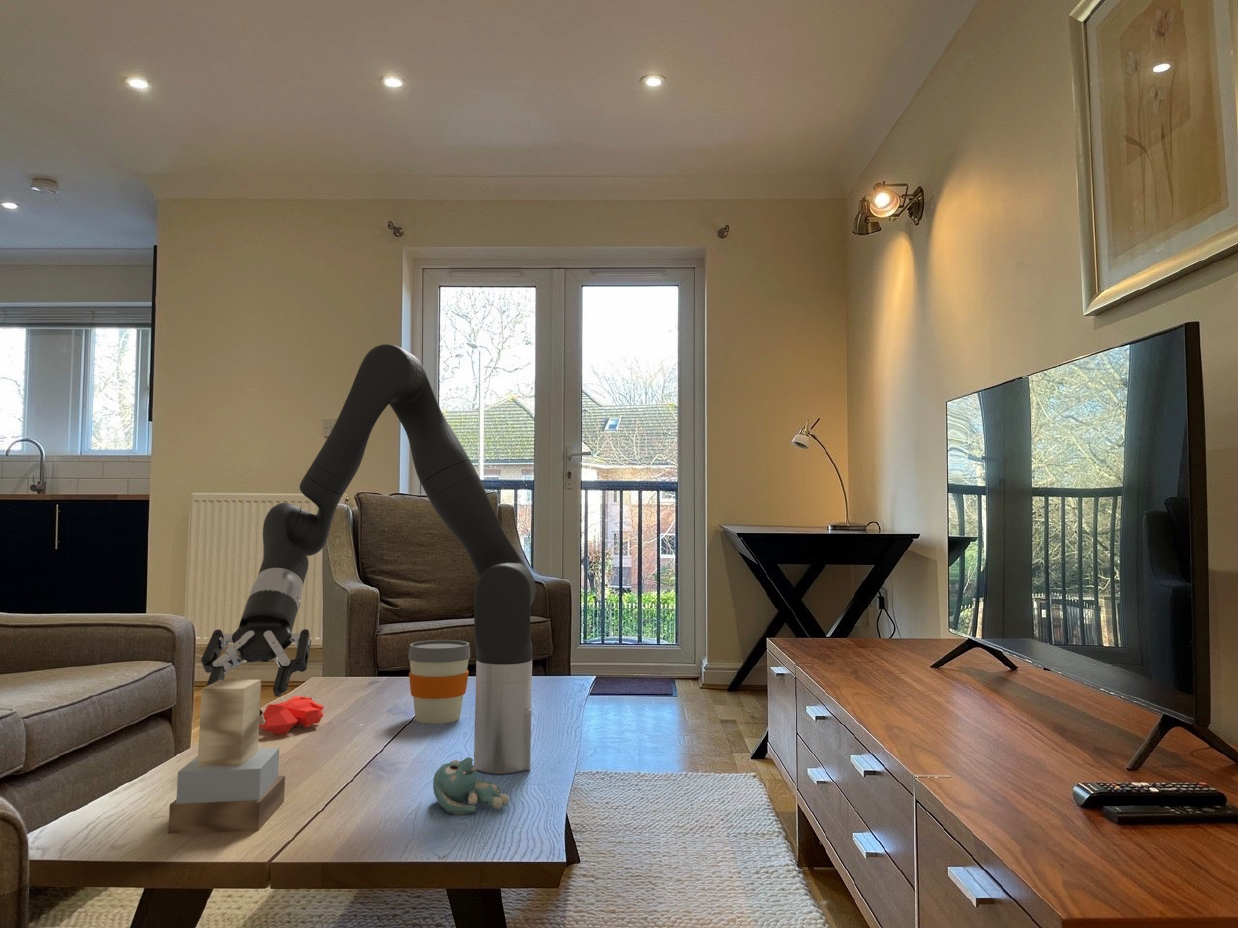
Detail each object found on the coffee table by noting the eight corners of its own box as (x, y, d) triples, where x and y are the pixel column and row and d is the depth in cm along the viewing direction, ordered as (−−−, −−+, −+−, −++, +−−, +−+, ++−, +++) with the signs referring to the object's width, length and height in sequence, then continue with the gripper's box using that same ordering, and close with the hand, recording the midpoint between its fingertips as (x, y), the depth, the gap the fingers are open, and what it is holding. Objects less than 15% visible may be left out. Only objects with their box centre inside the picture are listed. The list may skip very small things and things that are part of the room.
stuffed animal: (487, 784, 106) (418, 755, 111) (478, 837, 106) (409, 805, 111) (530, 763, 116) (464, 737, 121) (521, 811, 116) (456, 783, 121)
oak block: (257, 752, 112) (261, 679, 112) (240, 765, 106) (244, 688, 106) (216, 752, 111) (220, 679, 112) (197, 765, 105) (201, 688, 106)
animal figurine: (247, 740, 146) (248, 712, 146) (268, 721, 160) (270, 695, 161) (314, 738, 148) (315, 710, 148) (329, 719, 162) (330, 693, 163)
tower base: (283, 804, 114) (285, 775, 114) (258, 833, 103) (259, 801, 103) (202, 806, 113) (204, 777, 113) (167, 836, 102) (169, 804, 102)
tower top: (278, 776, 114) (279, 747, 114) (259, 800, 104) (260, 768, 104) (202, 779, 112) (204, 750, 112) (176, 803, 102) (178, 771, 103)
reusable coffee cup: (454, 727, 157) (456, 649, 158) (394, 723, 159) (397, 647, 160) (477, 713, 169) (479, 641, 170) (422, 709, 171) (424, 638, 172)
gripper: (219, 588, 122) (185, 679, 110) (317, 588, 124) (293, 677, 111) (230, 619, 127) (198, 709, 114) (323, 619, 128) (301, 708, 116)
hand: (245, 693), depth 113 cm, fingers open, 8 cm apart
